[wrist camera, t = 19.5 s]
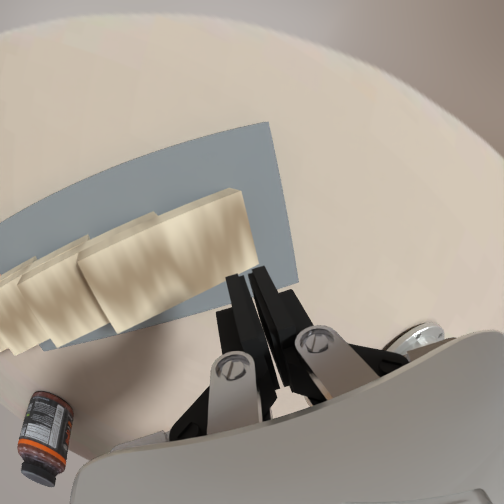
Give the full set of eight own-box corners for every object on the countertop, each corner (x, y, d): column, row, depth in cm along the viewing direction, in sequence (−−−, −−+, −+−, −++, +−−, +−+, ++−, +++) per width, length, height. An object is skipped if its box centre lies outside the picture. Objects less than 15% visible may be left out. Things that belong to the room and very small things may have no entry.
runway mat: (294, 275, 23) (298, 282, 22) (46, 344, 21) (43, 351, 20) (264, 122, 17) (268, 121, 16) (-17, 233, 15) (-23, 237, 14)
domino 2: (185, 286, 18) (57, 348, 14) (178, 277, 19) (58, 334, 16) (158, 216, 16) (16, 285, 12) (153, 211, 17) (22, 275, 13)
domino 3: (259, 264, 19) (117, 334, 15) (246, 256, 20) (114, 320, 16) (241, 190, 16) (77, 262, 13) (229, 187, 18) (78, 252, 14)
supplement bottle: (73, 422, 26) (63, 494, 16) (33, 405, 24) (16, 475, 14) (76, 401, 24) (62, 484, 14) (31, 382, 22) (8, 461, 12)
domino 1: (119, 304, 18) (14, 355, 14) (116, 294, 19) (17, 343, 15) (87, 240, 15) (-22, 301, 12) (88, 234, 17) (-16, 291, 13)
